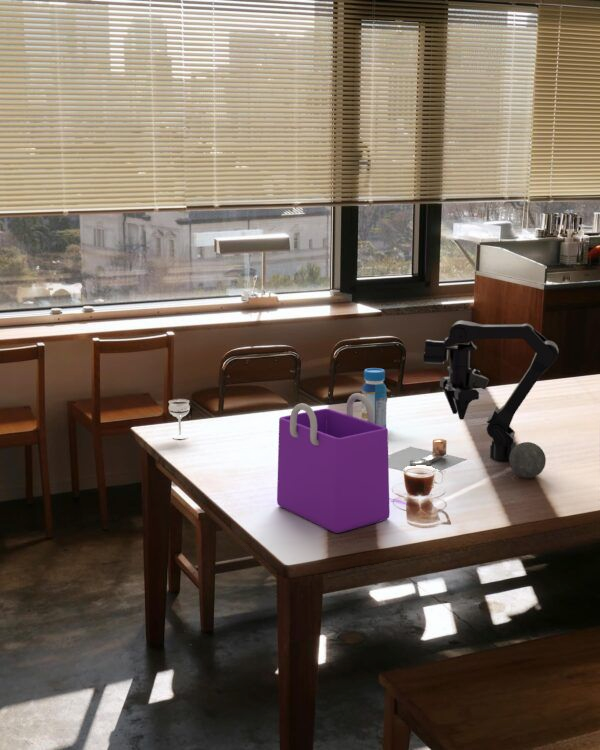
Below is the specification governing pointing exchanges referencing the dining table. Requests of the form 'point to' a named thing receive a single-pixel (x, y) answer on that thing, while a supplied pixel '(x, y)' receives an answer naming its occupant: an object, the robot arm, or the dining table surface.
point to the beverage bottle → (375, 395)
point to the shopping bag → (333, 467)
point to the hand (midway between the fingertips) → (458, 416)
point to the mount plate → (404, 456)
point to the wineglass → (179, 409)
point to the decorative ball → (527, 460)
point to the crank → (438, 453)
